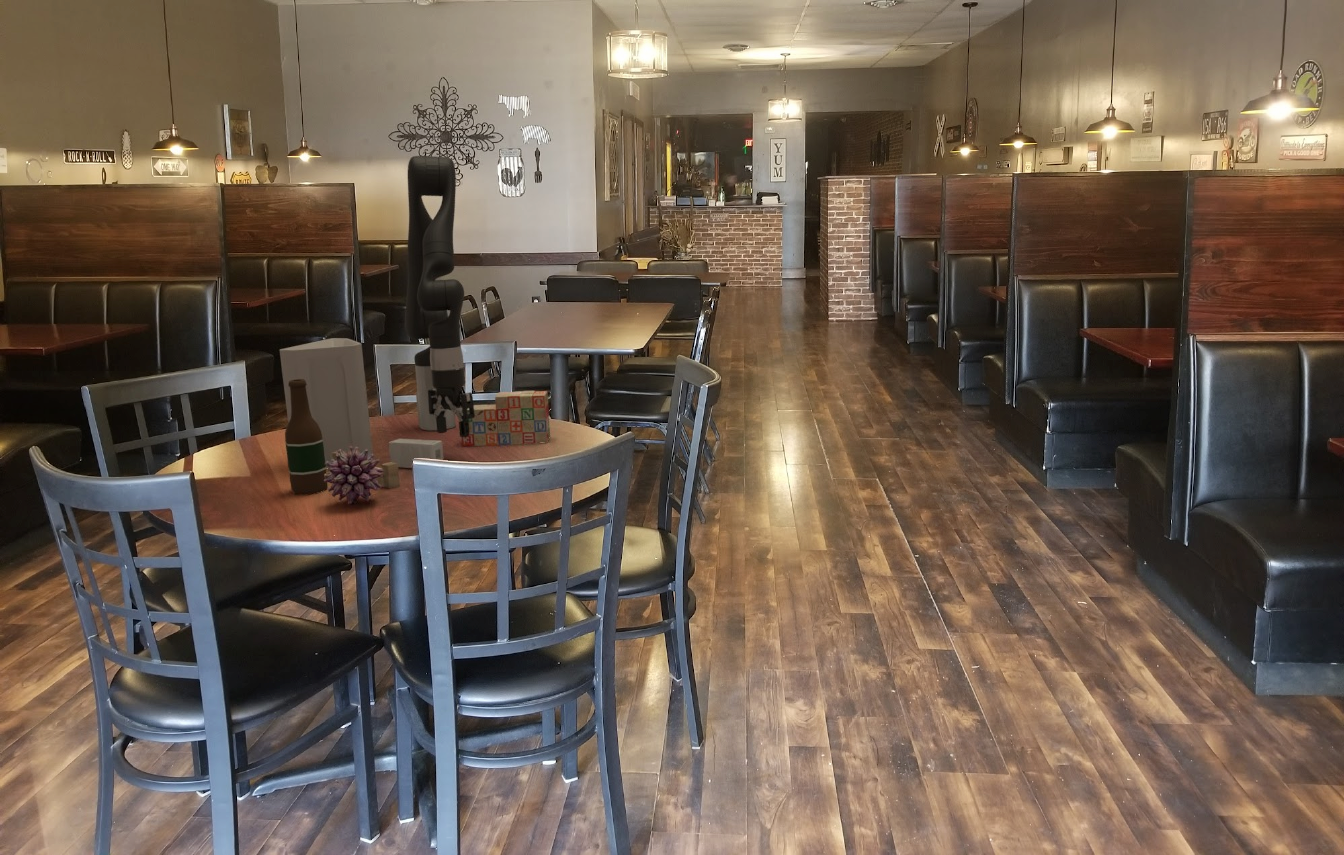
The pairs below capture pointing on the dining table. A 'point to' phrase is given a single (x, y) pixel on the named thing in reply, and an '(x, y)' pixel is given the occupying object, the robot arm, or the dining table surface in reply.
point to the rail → (384, 473)
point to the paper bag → (332, 391)
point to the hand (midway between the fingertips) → (453, 434)
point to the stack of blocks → (510, 420)
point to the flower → (353, 475)
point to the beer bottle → (304, 444)
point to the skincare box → (414, 451)
